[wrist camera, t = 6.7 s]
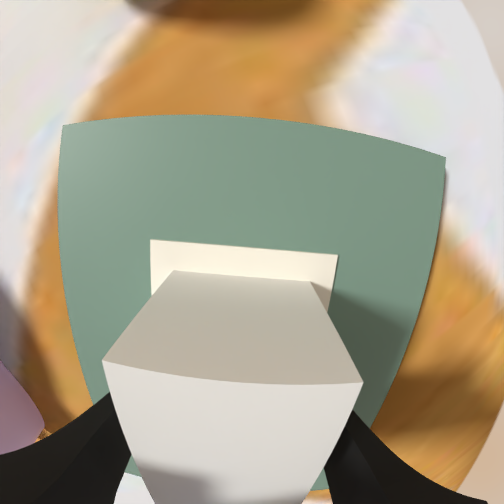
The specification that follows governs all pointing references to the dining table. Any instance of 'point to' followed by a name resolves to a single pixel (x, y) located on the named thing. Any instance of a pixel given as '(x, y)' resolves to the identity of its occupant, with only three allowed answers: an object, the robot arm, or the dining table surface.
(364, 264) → the board
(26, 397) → the purple lobed piece
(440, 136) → the dining table surface
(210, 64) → the dining table surface
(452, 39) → the dining table surface
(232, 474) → the plug housing
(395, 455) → the robot arm
